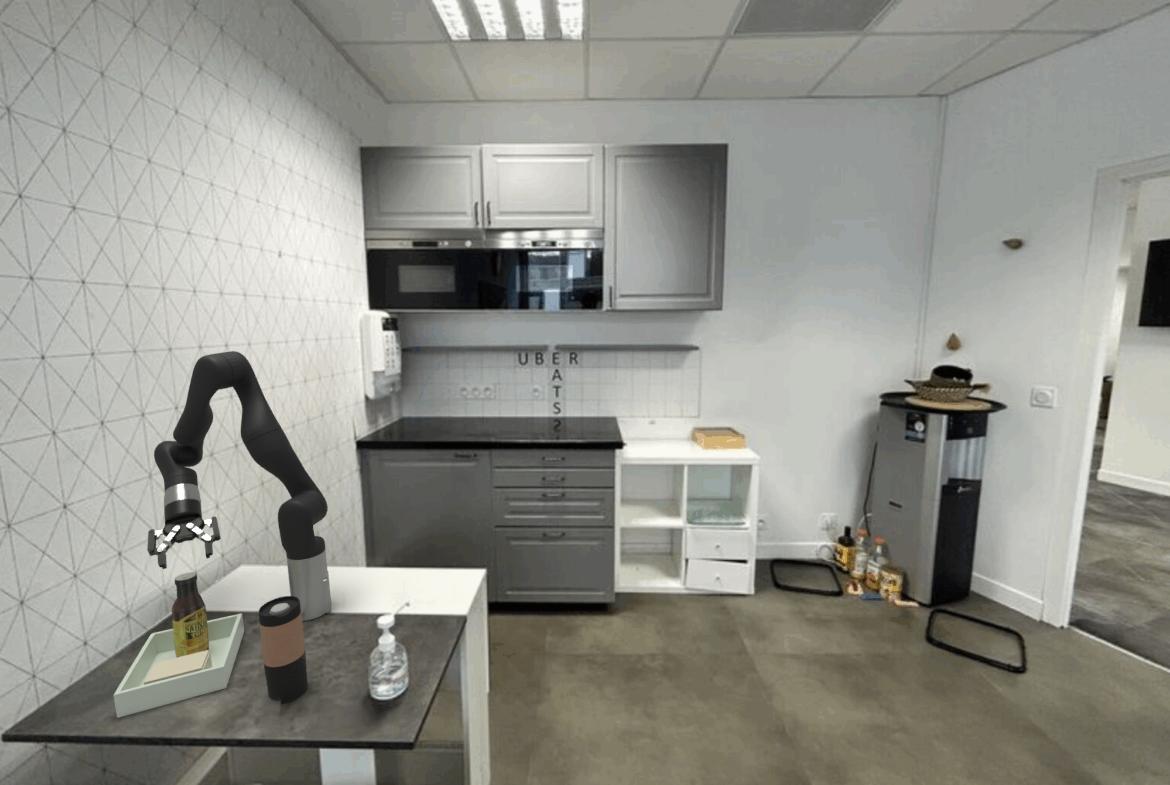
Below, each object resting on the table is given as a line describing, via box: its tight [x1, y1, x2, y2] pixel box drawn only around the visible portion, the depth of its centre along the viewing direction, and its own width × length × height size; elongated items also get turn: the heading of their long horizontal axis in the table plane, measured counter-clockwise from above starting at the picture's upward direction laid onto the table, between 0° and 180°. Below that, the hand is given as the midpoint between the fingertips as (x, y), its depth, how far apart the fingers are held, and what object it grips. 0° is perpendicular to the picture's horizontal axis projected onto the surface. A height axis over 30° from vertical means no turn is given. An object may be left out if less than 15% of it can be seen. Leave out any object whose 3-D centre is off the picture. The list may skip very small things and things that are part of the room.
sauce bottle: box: [171, 572, 209, 658], centre depth 116 cm, size 7×6×20 cm
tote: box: [113, 612, 245, 719], centre depth 112 cm, size 18×22×6 cm
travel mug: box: [258, 595, 308, 705], centre depth 105 cm, size 8×8×20 cm
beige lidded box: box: [143, 650, 212, 685], centre depth 107 cm, size 10×7×5 cm
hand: (186, 562), depth 123 cm, fingers open, 8 cm apart
